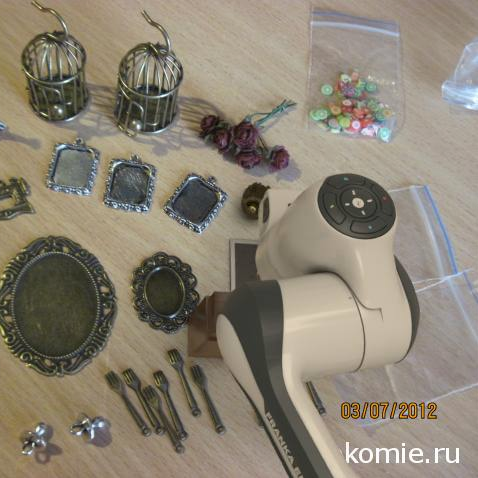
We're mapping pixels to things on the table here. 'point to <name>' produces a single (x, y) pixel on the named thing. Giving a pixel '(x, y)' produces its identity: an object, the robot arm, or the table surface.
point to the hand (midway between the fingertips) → (262, 288)
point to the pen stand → (205, 327)
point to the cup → (253, 199)
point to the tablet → (242, 261)
